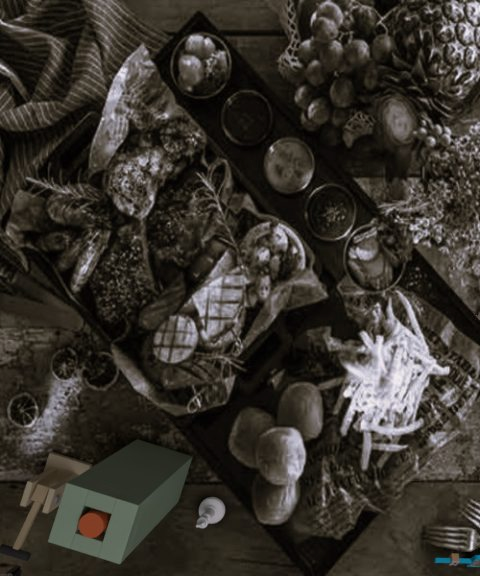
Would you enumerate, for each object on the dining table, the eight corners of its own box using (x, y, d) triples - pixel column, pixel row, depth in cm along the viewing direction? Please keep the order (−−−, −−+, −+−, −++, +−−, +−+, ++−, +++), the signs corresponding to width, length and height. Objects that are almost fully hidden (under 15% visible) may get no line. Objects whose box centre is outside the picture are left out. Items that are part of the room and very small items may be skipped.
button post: (122, 484, 144) (47, 542, 111) (137, 439, 144) (66, 482, 111) (178, 502, 144) (119, 564, 111) (192, 456, 144) (138, 505, 111)
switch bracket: (78, 509, 144) (51, 529, 132) (37, 497, 143) (7, 515, 132) (92, 464, 144) (67, 479, 132) (52, 451, 144) (23, 465, 132)
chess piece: (195, 501, 144) (182, 517, 134) (220, 493, 144) (208, 508, 134) (203, 526, 144) (190, 543, 134) (228, 518, 144) (217, 535, 134)
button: (83, 527, 113) (75, 533, 110) (90, 504, 113) (82, 509, 110) (106, 534, 113) (99, 541, 110) (113, 511, 113) (106, 517, 110)
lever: (28, 561, 130) (24, 560, 128) (0, 553, 130) (-4, 551, 128) (60, 492, 135) (57, 490, 133) (33, 483, 135) (30, 481, 133)
